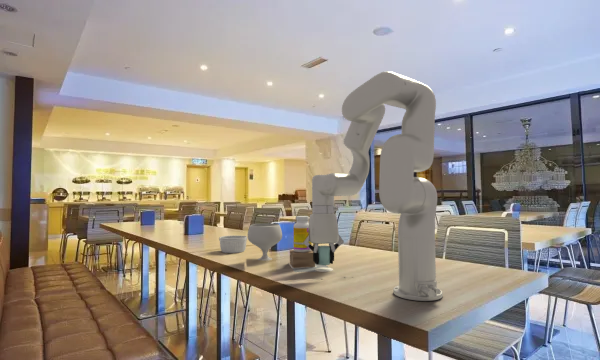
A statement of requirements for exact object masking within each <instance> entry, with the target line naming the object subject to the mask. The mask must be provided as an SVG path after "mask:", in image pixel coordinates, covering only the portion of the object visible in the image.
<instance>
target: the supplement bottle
mask: <svg viewBox="0 0 600 360" xmlns="http://www.w3.org/2000/svg"><path fill="white" fill-rule="evenodd" d="M309 218H310V215H309V216H308V215H296V216H295V219H296V223H294V224H293V250H294V251H295V252H310V251H311V249H310V248H309V247H307V246H306V245H304V244H303V242H304V240H305V239H306V237H307V236H308V227H309ZM309 244H311V245H312V246H313V243H311V242H310V241H309Z"/></svg>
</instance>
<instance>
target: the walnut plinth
mask: <svg viewBox="0 0 600 360" xmlns="http://www.w3.org/2000/svg"><path fill="white" fill-rule="evenodd" d="M289 263H290V264H291V266H292V267H293V268H300V267H315V262H314V261H313V251H312V250H311V251H310V252H295V251H294V249H289ZM291 266H290V267H291Z"/></svg>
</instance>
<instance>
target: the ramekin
mask: <svg viewBox="0 0 600 360" xmlns="http://www.w3.org/2000/svg"><path fill="white" fill-rule="evenodd" d="M218 240H219V246H220V247H219V248H220V250H221V252H222V253H226V254H238V253H243V252H245V250H246V248H247V242H248V241H247V240H248V235H223V236H220V237H219V238H218Z"/></svg>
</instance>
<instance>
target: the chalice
mask: <svg viewBox="0 0 600 360" xmlns="http://www.w3.org/2000/svg"><path fill="white" fill-rule="evenodd" d="M282 239H283V231H282V228H281V225H280V224H279V223H253V224H250V226H249V227H248V231H247V240H248V241H249V243H251V244H252V245H254V246H255V247H257V248H259V249H260V250H261V252H262V255H261V257H260V258H257V260H258V261H265V262H266V261H272V260H273V258H272V257H269V254H268V252H269V250H270V249H271V248H272V247H274V246H275V245H276V244H278V243H280V242H281V240H282Z"/></svg>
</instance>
